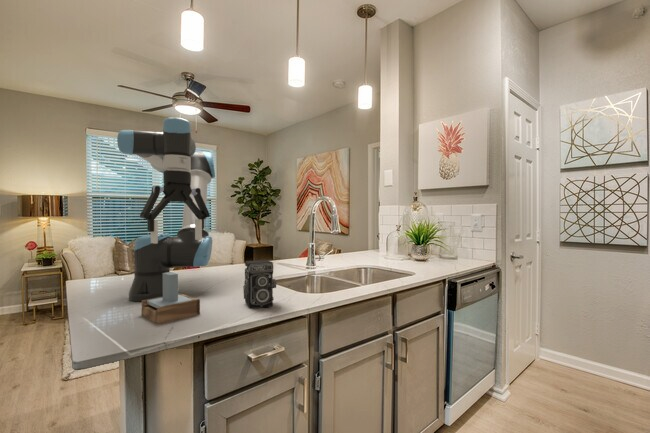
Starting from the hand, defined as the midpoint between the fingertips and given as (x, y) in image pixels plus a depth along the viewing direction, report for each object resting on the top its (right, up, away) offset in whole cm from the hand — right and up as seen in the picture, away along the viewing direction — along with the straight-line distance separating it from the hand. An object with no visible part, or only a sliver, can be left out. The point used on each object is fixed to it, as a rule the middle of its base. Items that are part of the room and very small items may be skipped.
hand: (177, 241), depth 96 cm
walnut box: (-2, -23, 0) cm, 23 cm away
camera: (+23, -23, +10) cm, 34 cm away
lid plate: (-2, -19, 0) cm, 19 cm away
